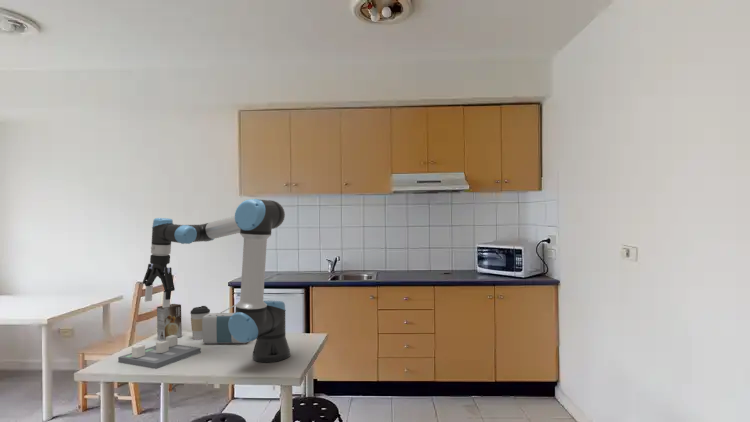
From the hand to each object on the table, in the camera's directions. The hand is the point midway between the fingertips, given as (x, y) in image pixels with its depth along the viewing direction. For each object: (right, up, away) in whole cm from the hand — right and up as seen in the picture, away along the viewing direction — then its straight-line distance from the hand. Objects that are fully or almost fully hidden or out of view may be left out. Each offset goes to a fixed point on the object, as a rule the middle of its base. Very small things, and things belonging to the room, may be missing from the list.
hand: (156, 304), depth 183 cm
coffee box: (-8, -23, +27) cm, 37 cm away
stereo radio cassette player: (+24, -22, +18) cm, 37 cm away
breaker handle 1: (-3, -19, -9) cm, 21 cm away
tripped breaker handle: (+4, -19, -3) cm, 20 cm away
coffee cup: (+7, -23, +27) cm, 36 cm away
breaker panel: (+3, -22, -3) cm, 22 cm away
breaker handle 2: (+3, -20, +6) cm, 21 cm away
